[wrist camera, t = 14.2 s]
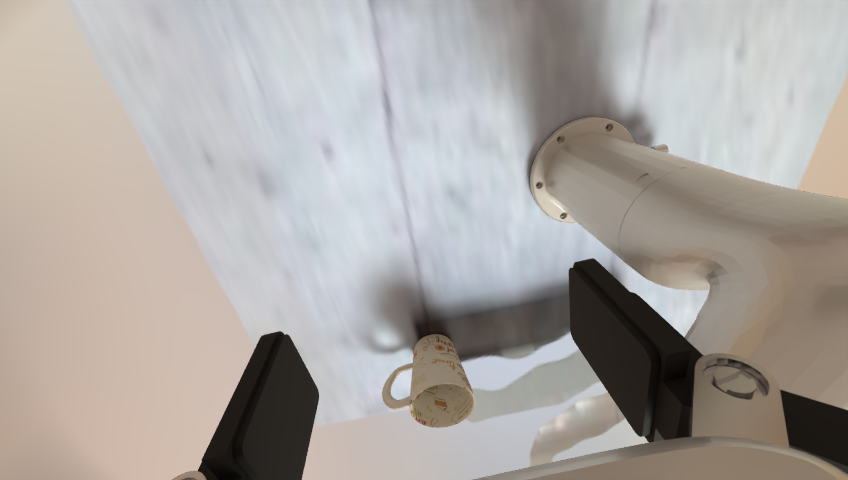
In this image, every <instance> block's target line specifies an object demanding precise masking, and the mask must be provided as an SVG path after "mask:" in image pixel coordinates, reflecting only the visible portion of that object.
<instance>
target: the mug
mask: <svg viewBox="0 0 848 480" xmlns="http://www.w3.org/2000/svg"><path fill="white" fill-rule="evenodd" d="M412 368H413V369H412ZM410 369H412V381H411V393H410V396H409V397H407V398H404V399H401V400H396V399H394V398H393V397H392V396H391V393H390V391H391V387H392V384H393V382H394V381H395V379H396V378H397V376H398V375H399V374H400V373H402V372H405V371H407V370H410ZM382 397H383V401H384V403H385V404H386V405H387V406H388V407H389V408H391V409H394V410H398V409H402V408H405V407H408V406H410V412H411V414H412V416H413V418H414V419H415V420H416V421H417V422H419V423H421V424H423V425H426V426H429V427H436V428H439V427H448V426H452V425H455V424H457V423H459V422H461V421H463V420H464V419H466V418H467V417H468V416H469V415H470V414H471V412H472V411H473V409H474V406H475V397H474V394H473V391H472V389H471V386H470V384H469V381H468V379H467V377H466V374H465V372H464V369H463V367H462V365H461V362H460V360H459V357H458V355H457V352H456V350H455V348H454V345H453V343H452V341H451V340H450V339H449V338H447V337H446V336H444V335H440V334H432V335H428V336H425V337H423V338H422V339H420V340H419V341H418V342H417V344H416V345H415V348H414V357H413V363H411V364H407V365H404V366H401V367H399V368H397V369H396V370H395V371H394V372H393V373H392V374H391V375H390V376H389V378H388V379H387V381H386V383H385V385H384V387H383V391H382Z"/></svg>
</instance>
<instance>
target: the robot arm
mask: <svg viewBox="0 0 848 480" xmlns="http://www.w3.org/2000/svg"><path fill="white" fill-rule="evenodd" d="M558 137H559V139H558V140H557V138H558ZM537 183H538V184H537ZM536 184H537V185H536ZM530 188H531V192H532V196H533V198H534V200H535V202H536V204H537V205H538V206H539V207H540V209H541V210H542V211H543V212H545V213H546V214H547V215H548V216H550V217H552V218H553V219H555V220H558V221H561V222H568V223H578V224H579V225H581V226H582V227H583V228H584V229H585V230H587V231H588V232H589V233H590V234H591V235H593V236H594V237H595V238H596V239H598V240H599V241H600V242H601V243H602V244H604V245H605V246H606V247H607V248H608V249H610V250H611V251H612V252H613V253H614V254H616V255H617V256H618V257H619V258H620V259H622V260H623V261H624V262H625V263H626V264H628V265H629V266H630V267H632V268H633V269H634V270H635V271H636V272H638V273H639V274H640V275H642V276H643V277H645V278H646V279H648V280H650V281H652V282H654V283H656V284H658V285H661V286H665V287H668V288H673V289H682V290H709V294H708V297H707V299H706V301H705V303H704V304H703V306H702V308H701V310H700V311H699V313H698V315H697V319H696V320H695V322H694V323H693V325H692V326H691V328H690V330H689V331H688V333H687V334H686V336H685V337H683V336H682V335H681V334H680V333H679V332H678V331H676V330H675V329H674V328H673V327H672V326H671V325H670V324H669V323H668V322H667V321H666V320H665V319H663V318H662V317H661V316H660V315H659V314H658V313H657V312H656V311H655V310H654V309H653V308H652V307H650V306H649V305H648V304H647V303H646V302H645V301H644V300H643V299H642V298H641V297H640V296H638V295H637V294H635V293H632V292H629V291H628V290H627V289H626V288H625V287H624V286H623V285H622V284H621V283H620V282H619V281H618V280H617V279H616V278H614V277H613V276H612V275H611V274H610V273H609V272H608V271H607V270H606V269H605V268H604V267H603V266H602V265H601V264H600V263H599V262H597V261H596V260H595V259H588V260H583V261H579V262H575V263H574V265H573V268H570V269H569V297H570V331H571V335H572V337H573V340H574V342H575V343H576V345H577V346H578V348H579V349H580V351H581V352H582V354H583V355H584V357H585V358H586V360H587V361H588V363H589V364H590V366H591V367H592V369H593V370H594V372H595V373H596V375H597V376H598V378H599V379H600V381H601V382H602V384H603V385H604V386H605V388H606V390H607V391H608V393H609V394H610V396H611V397H612V399H613V400H614V402H615V403H616V404H617V406H618V407H619V409H620V410H621V412H622V413H623V415H624V416H625V418H626V419H627V421H628V422H629V424H630V425H631V427H632V428H633V430H634V431H635V432H636V434H637V435H638V436H640V437H642V436H645V438H646V439H647V441H648V442H649V443H645V444H640V445H634V446H630V447H624V448H619V449H614V450H609V451H604V452H599V453H594V454H589V455H584V456H580V457H575V458H571V459H566V460H561V461H556V462H552V463H547V464H543V465H538V466H533V467H529V468H524V469H519V470H515V471H510V472H505V473H501V474H497V475H492V476H487V477H483V478H479V479H474V480H848V199H845V198H838V197H832V196H826V195H820V194H815V193H810V192H805V191H800V190H795V189H790V188H785V187H781V186H777V185H773V184H769V183H765V182H761V181H757V180H753V179H750V178H746V177H743V176H739V175H736V174H733V173H729V172H726V171H723V170H719V169H716V168H713V167H709V166H706V165H703V164H700V163H696V162H693V161H690V160H687V159H684V158H680V157H677V156H674V155H671V154H668V147H667V146H666V145H665V144H664V145H659V146H655V147H651V148H648V147H646V146H642V145H639V144H636V143H635V142H634V139H633V138H632V136H631V134H630V133H629V132H628V131H627V130H626V129H625V128H624V127H623V126H622V125H621V124H619V123H617V122H615V121H613V120H609V119H606V118H600V117H585V118H581V119H577V120H574V121H572V122H570V123H568V124H565V125H564V126H562V127H561V128H559V129H558V130H556V131H555V132H554V133H553V134H552V135H551V136H550V137H549V138H548V139H547V140H546V141H545V142H544V144H543V145H542V146H541V148H540V149H539V151H538V153H537V155H536V157H535V159H534V162H533V165H532V168H531V174H530ZM318 401H319V392H318V389H317V386H316V385H315V383H314V381H313V379H312V377H311V375H310V373H309V371H308V370H307V368H306V366H305V364H304V362H303V360H302V358H301V356H300V355H299V353H298V351H297V349H296V347H295V345H294V343H293V341H292V340H291V338H290V336H289V335H287V334H286V335H284V333H282V332H280V331H279V332H275V333H270V334H266V335H263V336H261V338H260V340H259V342H258V344H257V346H256V348H255V350H254V352H253V354H252V356H251V358H250V361H249V363H248V365H247V367H246V369H245V371H244V373H243V375H242V377H241V379H240V382H239V383H238V385H237V388H236V390H235V392H234V394H233V396H232V398H231V400H230V402H229V404H228V406H227V408H226V410H225V413H224V415H223V417H222V419H221V421H220V423H219V425H218V427H217V429H216V431H215V433H214V435H213V438H212V440H211V442H210V444H209V446H208V448H207V450H206V452H205V454H204V456H203V459H202V463H201V465H200V467H199V469H198V471H190V472H186V473H184V474H181V475H179V476H177V477H176V478H174V479H173V480H302V474H303V470H304V466H305V461H306V456H307V452H308V447H309V442H310V437H311V433H312V429H313V424H314V419H315V415H316V410H317V405H318Z"/></svg>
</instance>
